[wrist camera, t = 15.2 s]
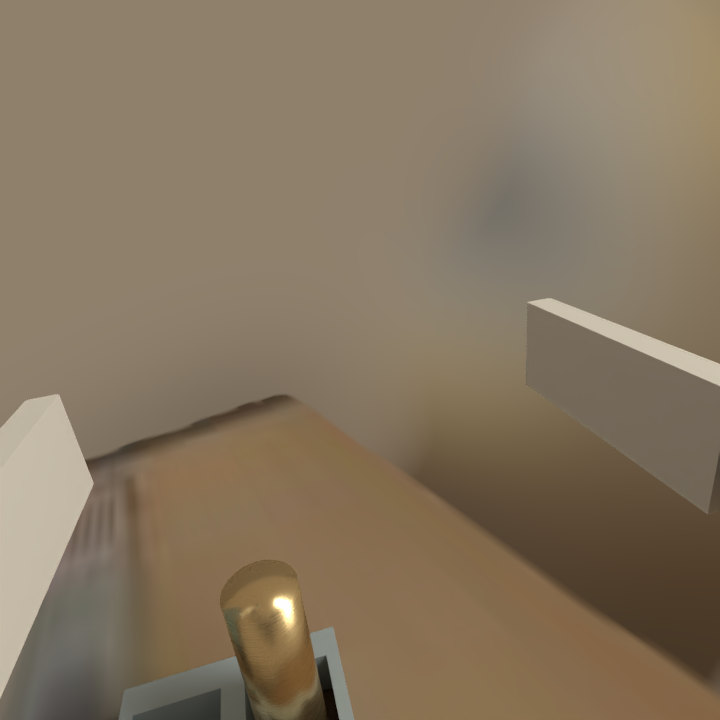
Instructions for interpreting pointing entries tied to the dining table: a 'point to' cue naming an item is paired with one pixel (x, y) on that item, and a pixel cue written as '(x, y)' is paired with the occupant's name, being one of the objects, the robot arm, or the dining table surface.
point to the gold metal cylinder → (273, 642)
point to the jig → (226, 689)
